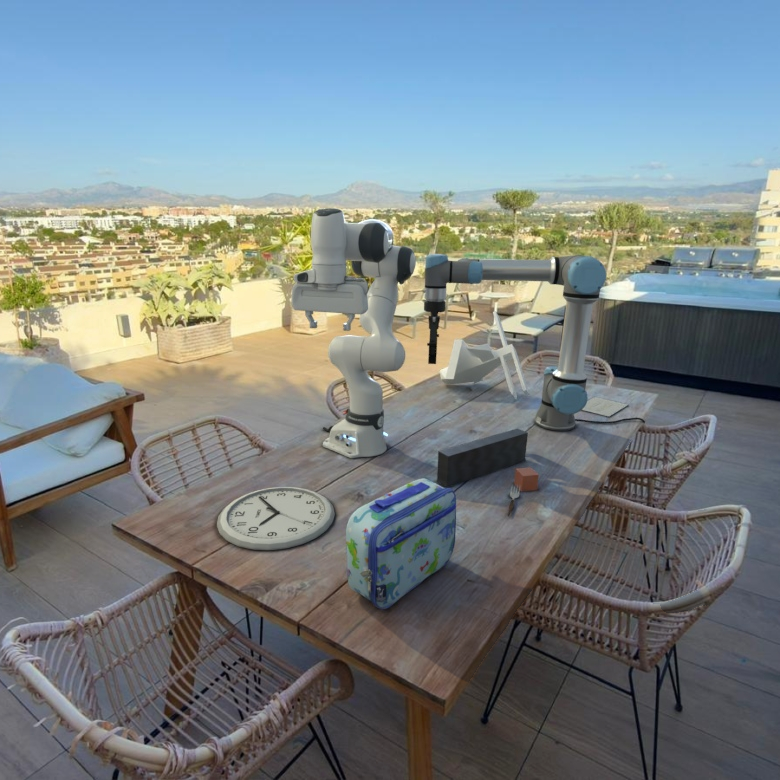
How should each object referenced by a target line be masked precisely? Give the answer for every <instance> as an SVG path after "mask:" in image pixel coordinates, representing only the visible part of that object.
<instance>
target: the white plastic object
mask: <svg viewBox="0 0 780 780" xmlns="http://www.w3.org/2000/svg"><path fill="white" fill-rule="evenodd" d="M492 315H493V319H494V321H495V324H496V325H495V326H496V328H497V332H498V335H499V338H500V342H501V345H502V347H500V348H498V349H496V350H495V349H493V348H492V347H491V346H490V344H489V343H488V342H487V343H483V344H479V345H473V346H469V345H468V343H466V342H465V340H464V339H463V338H460V339H458V338H454V340H453V344H452V349H451V353H450V357H449V362H448V366H446V367H444V368H442V369H440V370H439V371H438V372H439V376H440V381H442V383H443V384H444V385H445V386H449V385H458V384H467V383H468V384H469V383H473V384H477V383H480V382H482V381H484V378H485V377H486V376H487V375H489V374H490V373H492V372H494V371H495V370H496V369H497V368H499V367H500V366H502V370H503V373H504V376H505V380H506V383H507V386H508V390H509V393H510V394H511V395H512V397H513V398H514V399H515V400H517V392H516V391H517V390H516V388H515V385H514V381H513V378H512V375H511V371H510V369H509V365H508V361H510V360H513V363H514V366H515V369H516V372H517V376H518V380H519V382H520V385H521V389H522V391H523V393H524V395H525V396H526V397H528V396H531V395H530V390H529V388H528V387H529V386H528V384H527V381H526V378H525V375H524V371H523V369H522V368H523V367H522V366H521V362H520V359H519V355H518V352H517V349H516V347H515V346H514V345H513V343H511V344H508V341H507V337H506V334H505V331H504V328H503V325H502V321H501V318H500V315H499V314H498V312H497V311H496V310H495V311H492Z"/></svg>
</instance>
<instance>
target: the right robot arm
mask: <svg viewBox="0 0 780 780" xmlns="http://www.w3.org/2000/svg"><path fill="white" fill-rule="evenodd" d="M606 280H607V271H606V268H605V266H604V264H603V263H602V262H601V261H600V260H599V259H598V258H596V257H594V256H588V255H584V254H575V255H567V256H552V257H551V258H550V259H510V258H509V259H506V258H505V259H503V258H502V259H499V258H497V259H496V258H493V259H492V258H479V259H478V258H467V257H466V258H465V257H463V258H460V259H458V260H449V257H448V255H447V254H440V253H439V254H435V253H433V254H428V255H427V256H426V257H425V267H424V289H423V290H422V293H423V294H424V297H423V298H424V299H425V300H424V301H423V311H424V312H427V313H430V315H428V329H429V341H428V342H427V343H426V345H427V347H428V358H427V360H428V361H427V364H428V365H437V354H438V338H440V334H439V333H438V329H440V328H439V327H440V320H441V316H440V315H439V313H445V311H446V303H447V302H446V299H447V284H465V285H466V284H467V285H468V284H469V285H477V284H478V285H479V284H481V283H482V281H502V282H548V283H549V285H557V286H563V290H562V298H563V299H564V300H565V301H566V304H565V311H564V318H563V319H564V321H563V327H562V333H561V341H560V349H559V350H560V351H559V356H558V357H559V359H558V365H557V366H554V365H553V366H547V367H545V369H544V373H543V381H542V382H543V384H542V394H541V402H540V405H539V407H538V410H537V411H536V413H535V417H534V424H535V425H536V426H537V427H539V428H542V429H544V430H549V431H556V432H567V431H572V430H574V429H575V428H576V422H582V423H588V424H589V423H591V424H617V423H620V422H624V421H634V420H635V421H636V420H638V421H641V422H643V423H646V421H645V420H644V419H643V418H641V417H628V418H621V419H618V420H611V421H601V420H588V419H587V420H586V419H580V418H575V417H576V416H575V414H577V413H579V412H581V411H583V410H582V409H583V408H584V407H585V405H586V403H587V401H588V400H589V399H588V398H589V397H588V392H587V391H586V389H587V388H586V387H587V381H588V376H587V374H586V373H585V372H584V370H585V363H586V355H587V348H588V343H589V336H590V335H589V334H590V328H591V321H592V315H593V308H594V303H596V302H597V301H598V300H599V299H600V293H601V289H602V288H603V286H604V285H605V283H606Z"/></svg>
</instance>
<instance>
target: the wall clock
mask: <svg viewBox="0 0 780 780" xmlns="http://www.w3.org/2000/svg"><path fill="white" fill-rule="evenodd" d="M335 516H336V513H335V509H334V505H333V504H332V503H331V502H330V500H329V499H328V498H327V497H325V496H323V495H322V494H321V493H319V492H316V491H313V490H311V489H307V488H302V487H296V486H279V487H278V486H277V487H267V488H263V489H258V490H255V491H251V492H249V493H246V494H243V495H242V496H240V497H238V498H235V499H234V500H232V501H231V502H230V503H228V505H226V506H225V507H223V509H222V510H221V512H220V514H219V515H218V517H217V521H216V529H217V531H218V533H219V535H220V536H221V537H222V538H223V539H224V540H225V541H226V542H227V543H230V544H233V545H235V546H236V547H239V548H244V549H249V550H257V551H274V550H285V549H289V548H292V547H297V546H301V545H304V544H306V543H308V542H310V541H312V540H315V539H317V538H318V537H319V536H321V535H323V534H324V533H325V532H326V531H328V529H329V528H330V527H331V525H332V524H333V522H334V518H335Z"/></svg>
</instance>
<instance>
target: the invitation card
mask: <svg viewBox="0 0 780 780" xmlns="http://www.w3.org/2000/svg"><path fill="white" fill-rule="evenodd" d="M628 406H629V404H627V403H623V402H618V401H614V400H609V399H605V398H601V397H596V396H593V397H592V398H590V399H588V400H587V403H586V405H585V407H584V408H583V409H582V410H581V411H584V412H587V413H593V414H596V415H600V416H604V417H608V418H609V417H611V416H613V415H614V414H616V413H617V412H619V411H621V410H623V409H624V408H626V407H628Z"/></svg>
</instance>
